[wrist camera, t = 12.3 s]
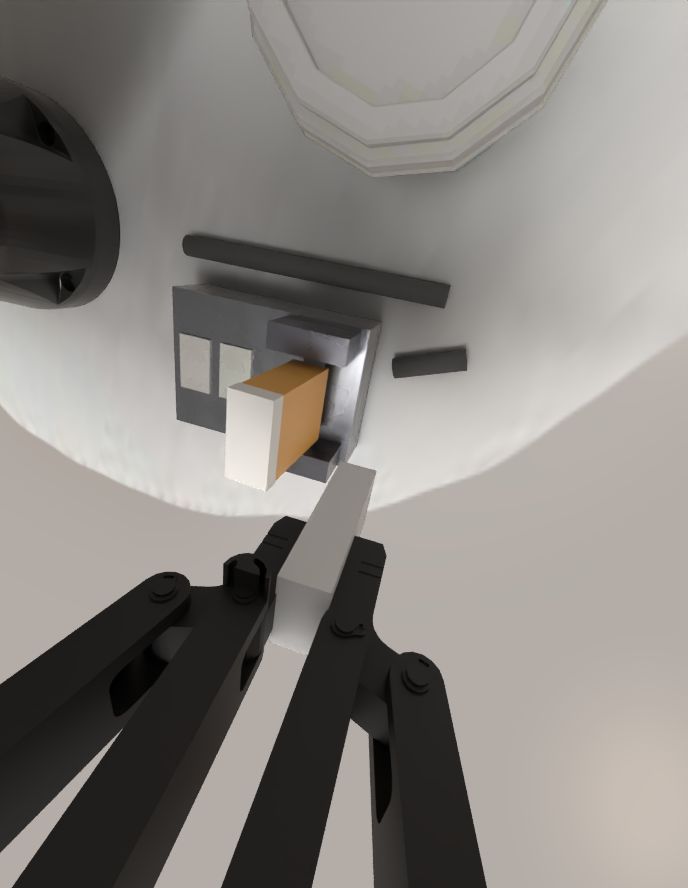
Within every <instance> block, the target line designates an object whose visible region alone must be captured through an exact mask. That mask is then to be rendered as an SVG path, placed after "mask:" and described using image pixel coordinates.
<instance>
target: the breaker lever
mask: <svg viewBox="0 0 688 888" xmlns="http://www.w3.org/2000/svg"><path fill="white" fill-rule="evenodd" d="M328 371H329V368H326V367H325V363H324V362H320V361H316V360H312V359H308V358H304V360H303V361H300V360H296V359H293V360H291V361H289V362H286V363H284V364H282V365H280V366H277V367H275V368H273V369H271V370H268V371H266V372H264V373H262V374H259V375H257V376H255V377H253V378H251V379H248V380H246V381H244V382H242V383H240V382H238V383H236V384H233V385H231V386H229V387H227V409H226V443H225V478H228V479H231V480H234V481H237V482H240V483H242V484H245V485H248V486H251V487H254V488H256V489H259V490H262V491H265V492H266V491H267V490H268V489H269V488H270V487H271V486H272V485H273V484H274V483H275V481H276V480H277V479H278V478H279V477H280V476H281V475H282V474H283V473H284V472H285V471H286V470H287V469H288V468H289V467H290V466H291V465H292V464H293V463H294V462H295V461H296V460H297V459H298V458H299V457H300V456H301V455H302V454H304V453H305V452H306V451H307V450H308V449H309V448H310V447H311V446H312V445H313V444H314V443H315V442H316V441H317V440H318V437H319V431H320V424H321V417H322V411H323V404H324V397H325V391H326V384H327V378H328Z"/></svg>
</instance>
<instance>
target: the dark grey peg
mask: <svg viewBox="0 0 688 888" xmlns="http://www.w3.org/2000/svg"><path fill="white" fill-rule="evenodd" d="M392 371H393V376H394V378H402V377H411V376H420V375H430V374H439V373H448V372H458V371H467V359H466V350H459V351H451V352H443V353H435V354H426V355H418V356H410V357H402V358H394V359H392Z"/></svg>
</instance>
